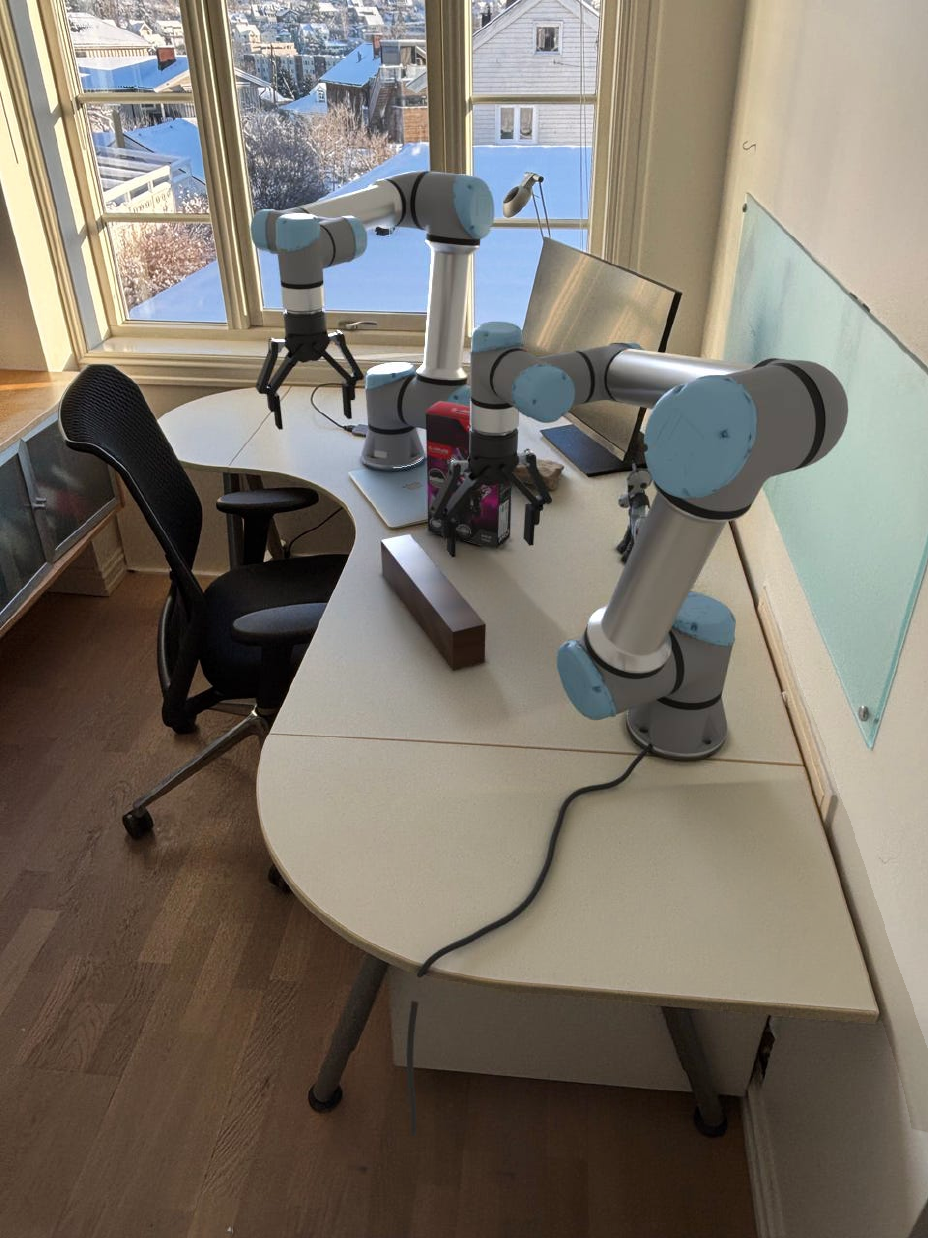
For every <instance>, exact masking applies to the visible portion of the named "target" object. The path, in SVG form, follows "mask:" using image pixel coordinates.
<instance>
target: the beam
mask: <svg viewBox="0 0 928 1238" xmlns="http://www.w3.org/2000/svg"><path fill="white" fill-rule="evenodd" d="M380 553H381V557H380V558H381V575H382V577H383V579H384V580H385V581H386V582H387V584H388V585H389V587H390V588H391V590H392V591H393V592H394V594H395V595H396V596H397V597H398V599H399V600H400V602H401V603H402V604H403V606H404V607H405V608H406V609H407V611H408V612H409V613H410V615H411V616H412V618H413V619H414V621H415V622H416V623H417V624H418V626H419V628H421V630H422V632H423V633H424V634H425V635H426V637H427V638H428V639H429V641H430V642H431V643H432V645H433V646H434V648H435V649H436V650H437V651H438V653H439V655H440V656H441V657H442V658H443V660H444V661H445V662H446V664H447V665H448V666H449V667H450V669H451V671H453V672H454V671H455V672H456V671H457V670H461V669H465V668H470V667H473V666H476V665H480V664H484V663H485V662H486V634H487V633H486V632H487V631H486V629H487V627H486V626H487V624H486V622H485V621H484V620H483V619H482V618H481V616H480V615H479V614H478V612H476V611H475V609H474V608H473V607H472V606H471V604H469V602H468V601H467V600H466V599H465V597H463V595H462V594H461V593H460V591H459V590H457V588H456V587H455V586H454V585H453V583H452V582H451V581H450V580H449V579H448V578H447V577H446V575H445V574H444V573H443V572H442V571H441V569H440V568H439V567H438V566H437V564H435V562H434V561H433V560H432V559H431V558H430V557H429V555H428V553H426V552H425V550H424V549H423V548H422V547H421V546H420V544H419V543H418V542H417V541H416V540H415V539H414V537H413V536H412V535H411V534H410V533H408V534H404V535H398V536H393V537H389V538H385V539H380Z"/></svg>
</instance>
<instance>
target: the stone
mask: <svg viewBox="0 0 928 1238" xmlns="http://www.w3.org/2000/svg"><path fill="white" fill-rule="evenodd" d="M517 454H519V452H517ZM536 462H537V468H538V470H539V472H540V474H541V477H542V479H543V481H544V483H545V485H546V487H547V489H548V490H554V489H555V488H556V486H557V484H558V479H559V477H560V476H561V474H562V472H563V470H564V469H565V466H564V465H563V464H561V463H559V462H557V461H553V460H550V459H540V458H536ZM513 473H514V474H515V475H516V476H517V477H518V478H519V479H520V480H521V481H522V482H523V483H526V484H528V485H532V486H535V484H534V482H533V480H532V478H531V476H530V474H529V472H528V470H527V468H526V466H524V465H523V464H522V463H521V462H519V464H518V466H517V467H516V468H515V470H514V471H513Z"/></svg>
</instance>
